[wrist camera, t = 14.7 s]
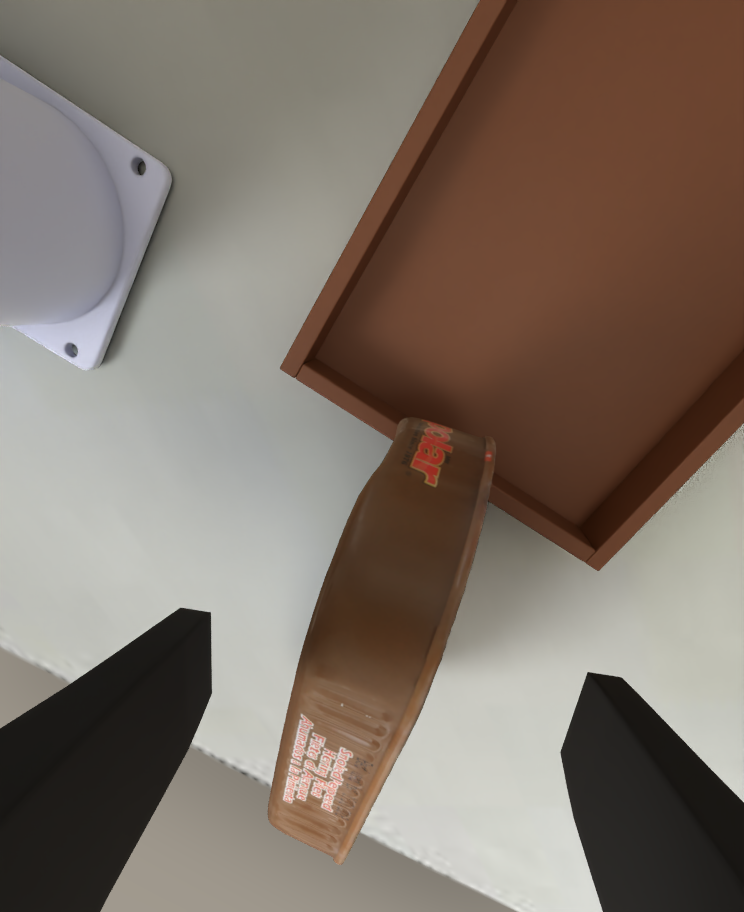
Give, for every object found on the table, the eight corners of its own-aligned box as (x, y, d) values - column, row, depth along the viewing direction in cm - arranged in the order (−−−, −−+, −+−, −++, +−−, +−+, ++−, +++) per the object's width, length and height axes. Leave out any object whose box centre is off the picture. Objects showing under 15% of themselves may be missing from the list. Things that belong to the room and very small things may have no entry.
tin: (388, 677, 21) (339, 916, 14) (325, 655, 22) (246, 880, 14) (504, 392, 14) (526, 603, 6) (404, 363, 14) (318, 536, 7)
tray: (296, 360, 17) (278, 368, 15) (677, -328, 11) (739, -478, 9) (578, 541, 18) (598, 572, 16) (1068, 15, 12) (1204, -46, 10)
